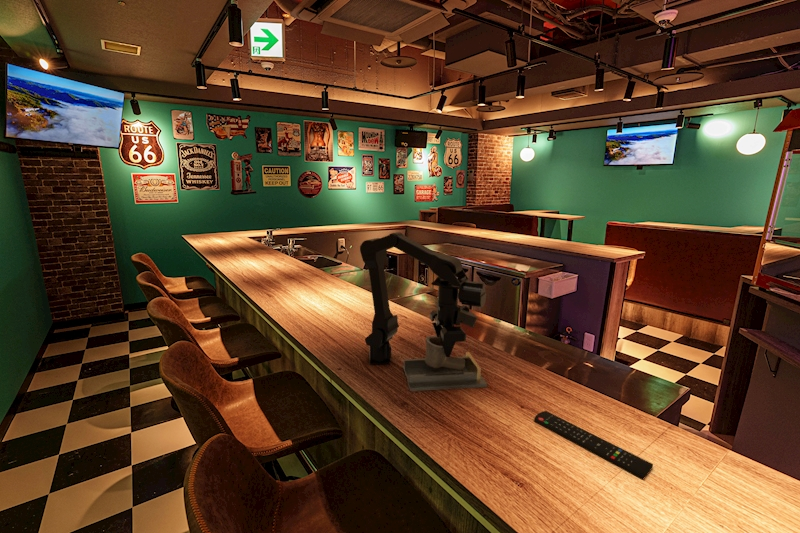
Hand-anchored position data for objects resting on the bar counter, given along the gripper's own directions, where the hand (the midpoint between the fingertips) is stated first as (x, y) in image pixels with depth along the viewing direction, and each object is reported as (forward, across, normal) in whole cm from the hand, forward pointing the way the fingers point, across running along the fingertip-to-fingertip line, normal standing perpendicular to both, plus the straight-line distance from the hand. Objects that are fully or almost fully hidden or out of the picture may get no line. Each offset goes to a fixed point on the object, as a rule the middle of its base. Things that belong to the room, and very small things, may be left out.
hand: (445, 352), depth 110 cm
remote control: (+8, -32, -25) cm, 41 cm away
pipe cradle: (+8, 0, 0) cm, 8 cm away
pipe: (+5, +1, +1) cm, 5 cm away
